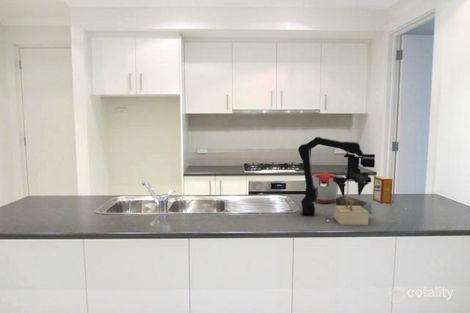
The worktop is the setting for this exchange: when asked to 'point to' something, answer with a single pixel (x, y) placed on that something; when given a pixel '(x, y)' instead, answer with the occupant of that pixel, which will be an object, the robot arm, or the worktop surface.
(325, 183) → the citrus juicer
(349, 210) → the cabinet door with handle
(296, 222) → the worktop surface
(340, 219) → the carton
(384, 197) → the baking soda box
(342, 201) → the beverage carton
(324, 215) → the worktop surface
